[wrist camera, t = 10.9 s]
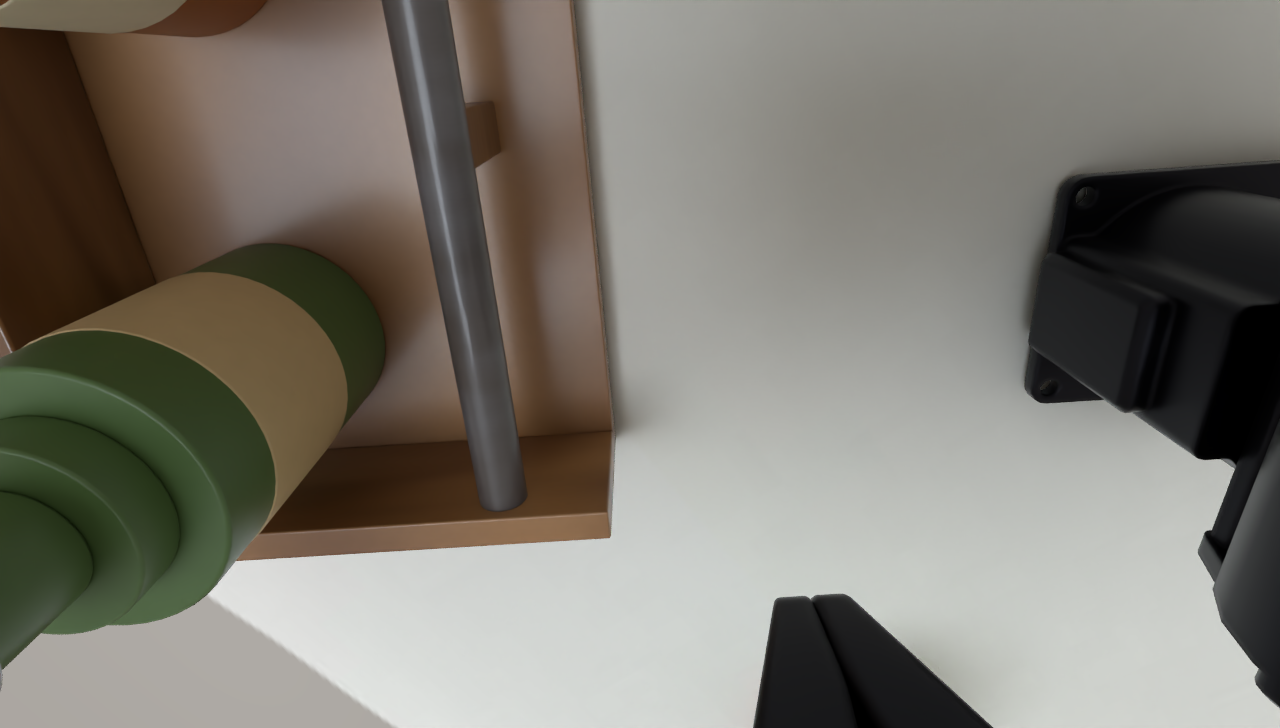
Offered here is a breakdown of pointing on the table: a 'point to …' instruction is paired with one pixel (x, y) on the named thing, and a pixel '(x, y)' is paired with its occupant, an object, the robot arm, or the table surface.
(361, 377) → the green bottle
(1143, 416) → the robot arm
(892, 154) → the table surface
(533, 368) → the rack
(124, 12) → the amber bottle
